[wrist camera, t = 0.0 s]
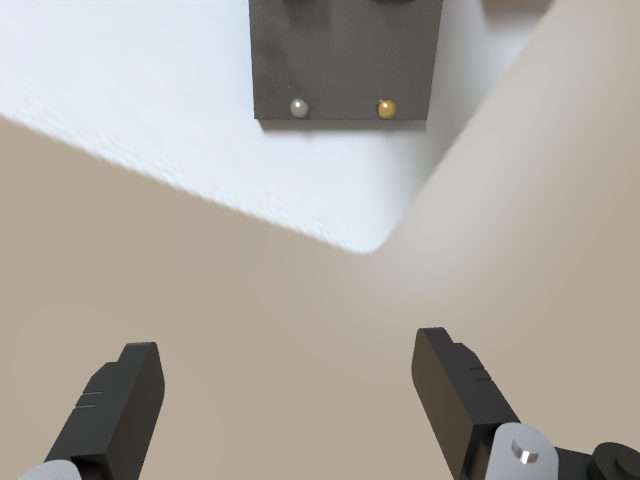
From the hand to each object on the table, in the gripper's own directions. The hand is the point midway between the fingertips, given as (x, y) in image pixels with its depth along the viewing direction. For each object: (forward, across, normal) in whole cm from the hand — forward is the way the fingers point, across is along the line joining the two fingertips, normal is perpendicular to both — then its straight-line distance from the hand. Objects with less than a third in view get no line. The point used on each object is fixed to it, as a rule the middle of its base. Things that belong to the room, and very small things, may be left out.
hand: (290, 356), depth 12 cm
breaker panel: (+29, -6, -10) cm, 32 cm away
